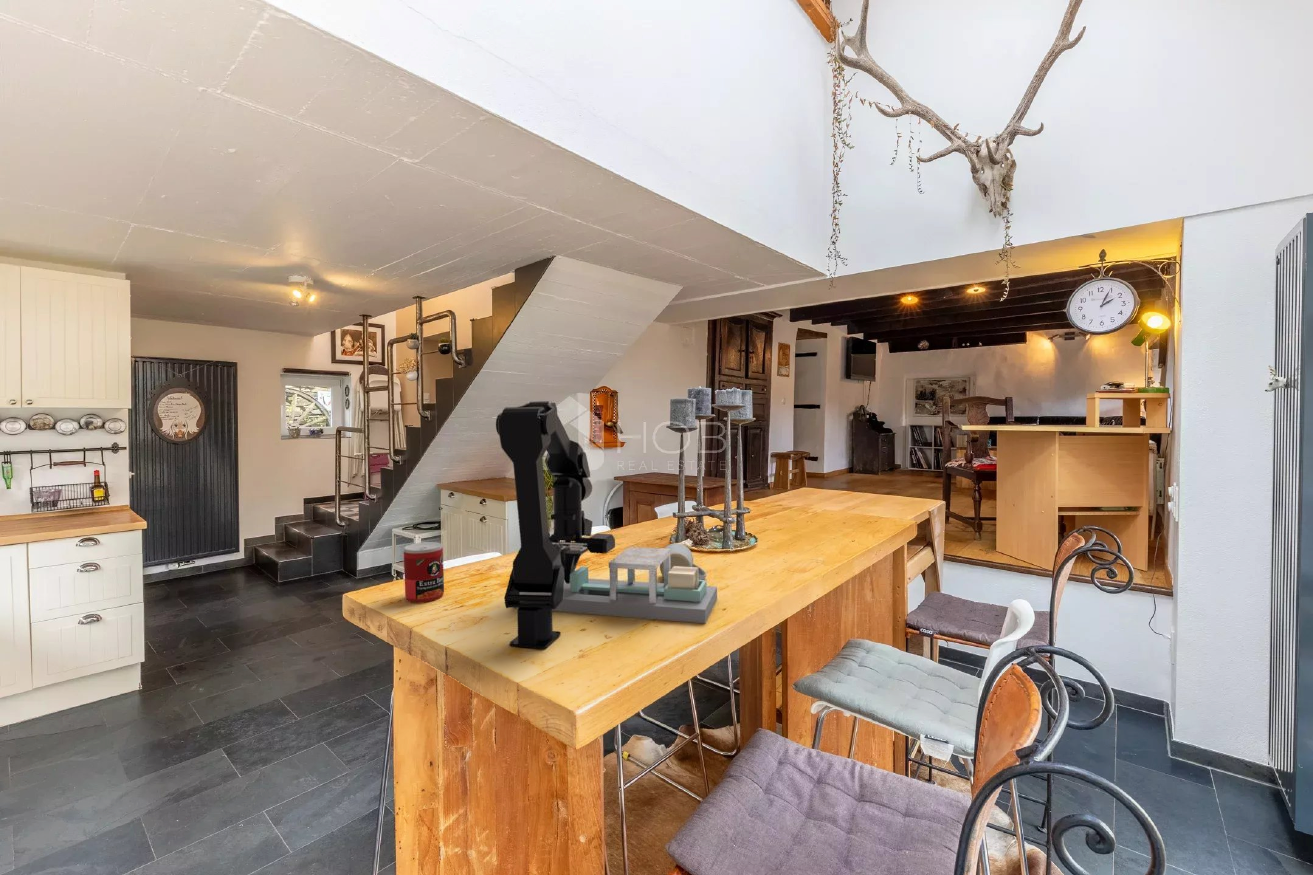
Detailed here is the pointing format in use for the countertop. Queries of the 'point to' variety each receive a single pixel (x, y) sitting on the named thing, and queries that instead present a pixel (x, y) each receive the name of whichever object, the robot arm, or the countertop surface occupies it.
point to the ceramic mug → (681, 559)
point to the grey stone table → (640, 568)
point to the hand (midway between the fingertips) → (568, 582)
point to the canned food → (423, 571)
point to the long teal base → (636, 588)
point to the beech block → (683, 578)
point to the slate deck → (634, 603)
